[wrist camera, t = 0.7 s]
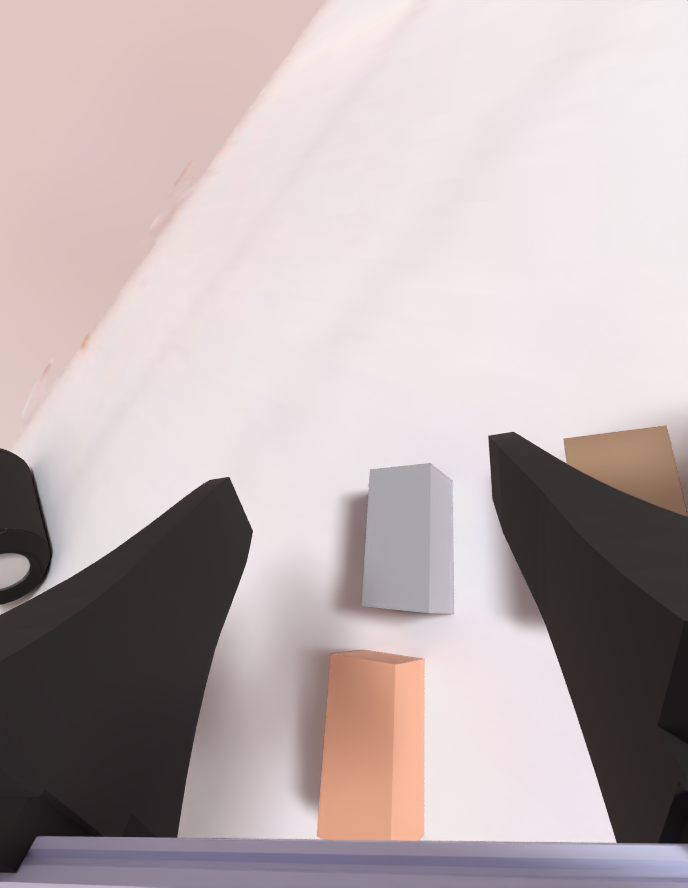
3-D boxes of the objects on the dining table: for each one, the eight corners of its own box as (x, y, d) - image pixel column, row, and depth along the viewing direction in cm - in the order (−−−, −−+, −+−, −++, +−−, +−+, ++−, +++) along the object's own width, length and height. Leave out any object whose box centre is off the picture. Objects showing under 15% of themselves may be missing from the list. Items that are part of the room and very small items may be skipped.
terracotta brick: (425, 833, 21) (390, 871, 18) (358, 806, 23) (316, 836, 20) (425, 658, 23) (395, 664, 20) (366, 649, 26) (330, 653, 23)
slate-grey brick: (455, 614, 23) (429, 613, 20) (393, 607, 26) (361, 605, 22) (453, 481, 26) (430, 463, 23) (397, 485, 28) (370, 469, 25)
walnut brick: (698, 624, 18) (713, 625, 15) (592, 616, 20) (586, 615, 17) (660, 454, 21) (666, 425, 18) (571, 463, 23) (563, 438, 20)
